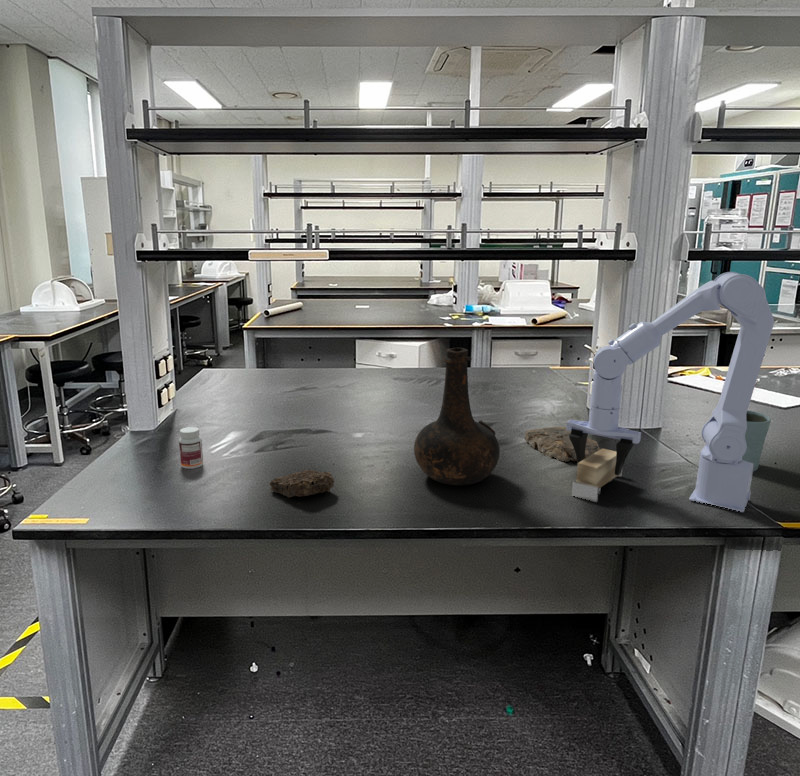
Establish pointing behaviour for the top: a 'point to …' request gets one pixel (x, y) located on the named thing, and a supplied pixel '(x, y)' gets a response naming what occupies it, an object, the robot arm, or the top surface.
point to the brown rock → (303, 483)
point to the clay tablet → (557, 443)
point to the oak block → (597, 468)
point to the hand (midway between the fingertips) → (599, 469)
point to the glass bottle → (456, 433)
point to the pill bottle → (190, 448)
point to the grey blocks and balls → (587, 490)
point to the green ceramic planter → (755, 436)
